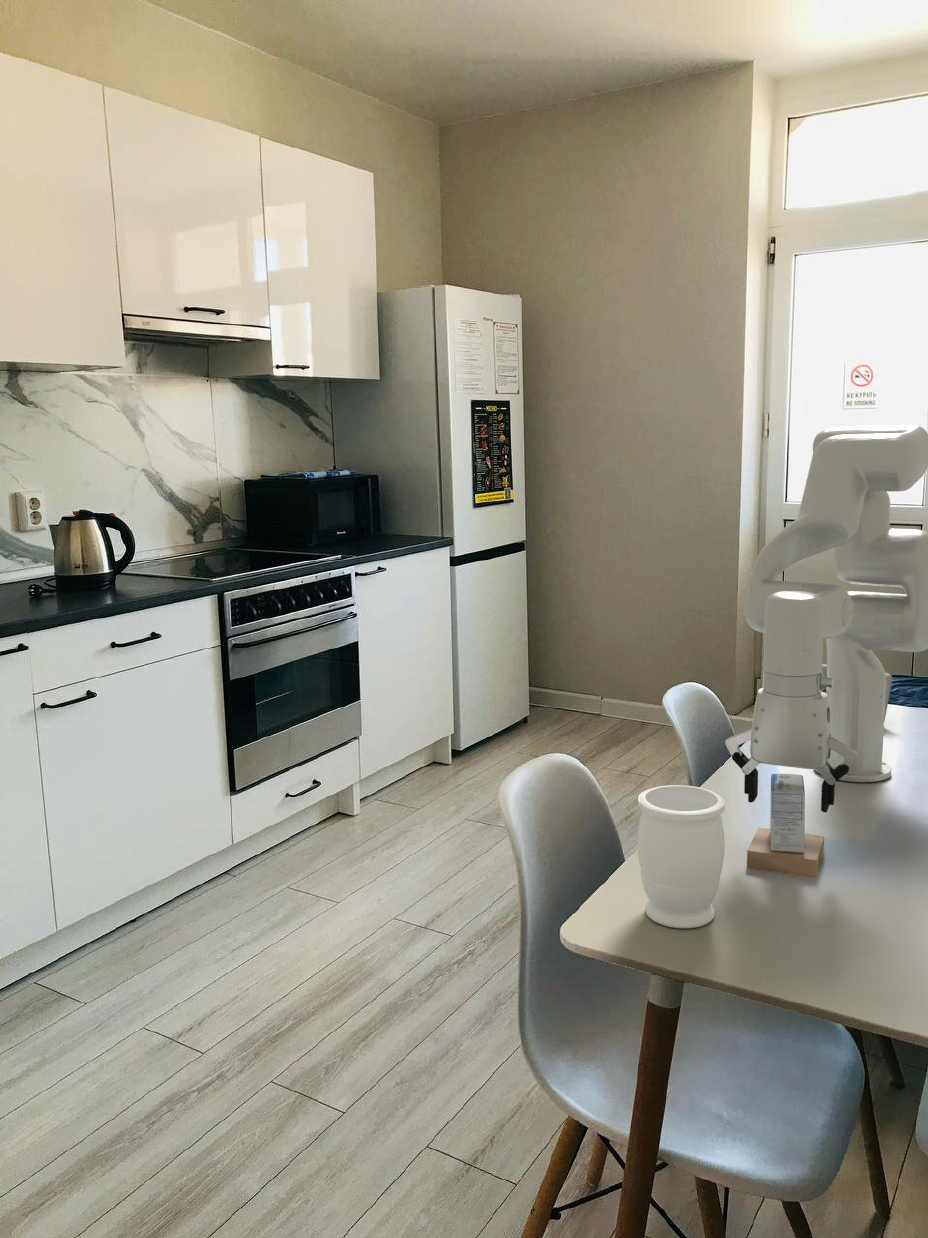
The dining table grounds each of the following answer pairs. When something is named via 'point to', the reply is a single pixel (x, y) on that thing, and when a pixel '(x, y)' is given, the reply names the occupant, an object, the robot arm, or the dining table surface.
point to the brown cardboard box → (785, 855)
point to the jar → (680, 853)
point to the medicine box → (787, 813)
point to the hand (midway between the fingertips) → (788, 804)
